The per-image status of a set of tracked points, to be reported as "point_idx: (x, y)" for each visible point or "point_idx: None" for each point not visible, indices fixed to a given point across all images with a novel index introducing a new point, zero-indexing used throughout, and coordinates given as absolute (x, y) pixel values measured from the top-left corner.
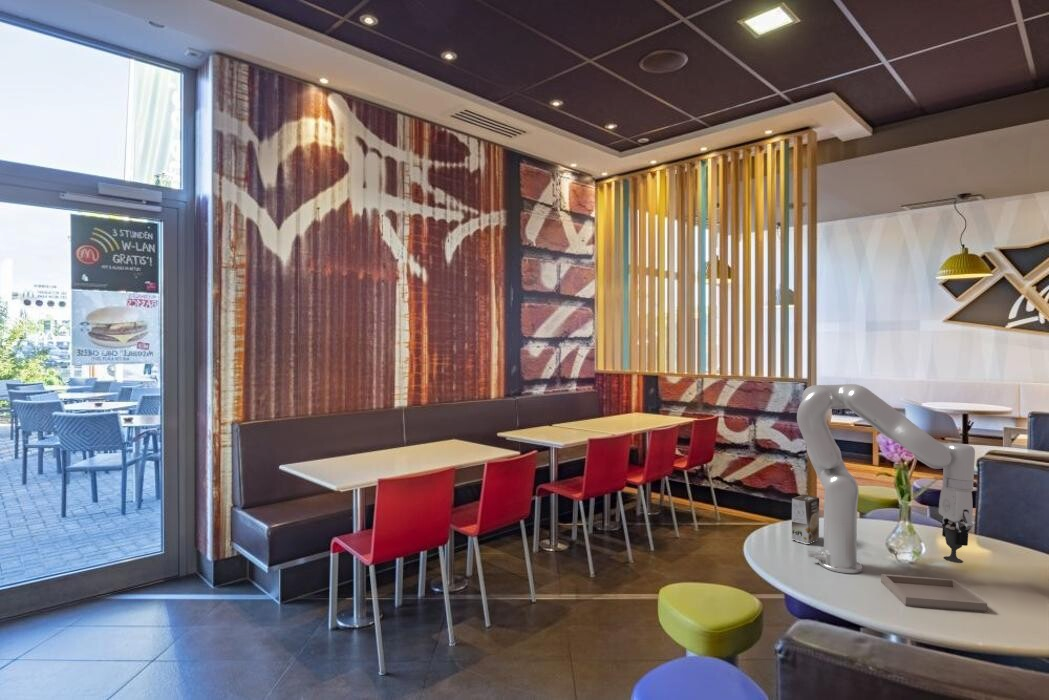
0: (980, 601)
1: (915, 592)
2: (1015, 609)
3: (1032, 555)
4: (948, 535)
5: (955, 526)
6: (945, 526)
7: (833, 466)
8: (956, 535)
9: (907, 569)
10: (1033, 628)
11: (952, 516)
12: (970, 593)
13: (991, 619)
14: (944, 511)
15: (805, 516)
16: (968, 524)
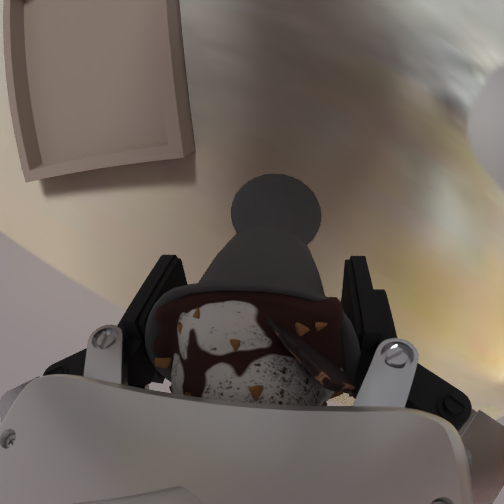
0: (30, 170)
1: (87, 4)
2: (93, 253)
3: None
4: (220, 264)
5: (185, 372)
6: (249, 309)
7: None
8: (136, 299)
9: (366, 43)
10: (19, 235)
11: (32, 422)
12: (69, 163)
13: (16, 168)
14: (232, 492)
15: None
16: (2, 398)
